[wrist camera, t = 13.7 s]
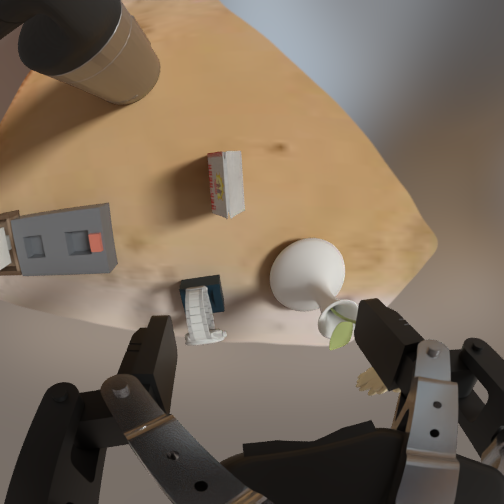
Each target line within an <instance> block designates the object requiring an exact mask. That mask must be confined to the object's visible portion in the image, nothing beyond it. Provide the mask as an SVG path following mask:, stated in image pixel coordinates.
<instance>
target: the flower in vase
mask: <svg viewBox="0 0 504 504" xmlns="http://www.w3.org/2000/svg"><path fill="white" fill-rule="evenodd" d="M344 278H345V265H344V260H343V257H342V255H341V253H340V252H339V250H338V249H337V248H336V247H335V246H334V245H333V244H331V243H330V242H328V241H326V240H323V239H319V238H306V239H302V240H298V241H296V242H294V243H292V244H290V245H289V246H287V247H286V248H285V249H284V250H283V251H282V252H281V253H280V254H279V255H278V256H277V258H276V259H275V261H274V263H273V265H272V268H271V272H270V286H271V290H272V292H273V294H274V296H275V298H276V299H277V300H278V301H279V302H280V303H281V304H283V305H284V306H286V307H288V308H290V309H292V310H296V311H312V310H316V309H319V308H320V311H321V315H320V317H319V321H318V329H319V331H320V333H321V334H322V335H323V336H324V337H326V338H329V339H330V345H329V348H330V350H334V349H337V348H340V347H342V346H345V345H346V344H347V343H348V342H349V341H350V339H351V335H352V331H353V330H354V329H355V323H356V318H357V312H358V305H357V304H356V303H355V302H353V301H351V300H339V299H337V298H336V297H335V296H336V295H337V294H338V292H339V291H340V289H341V287H342V285H343V282H344ZM358 378H359V379H358V380H357V383H358V384H357V385H356V387H360V389H359V391H364V390H368V389H370V391H369V392H368V395H369V396H372V395H375V394H376V393H377V394H383V393H384V392H386V391H387V390H388V389H387V388H386V386H385V385H384V383H383V382H382V380H381V379H380V377H379V376H378V374H377V373H376V371H375V370H374V368H373V367H371V368H369V369H368V370H367V371H366V372H364V373H362V374H360V375H359V376H358ZM393 391H394V392H400V391H401V390H400V388H398V389H395V390H393Z"/></svg>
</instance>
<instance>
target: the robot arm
mask: <svg viewBox="0 0 504 504" xmlns="http://www.w3.org/2000/svg"><path fill="white" fill-rule="evenodd" d="M23 23H24V24H23ZM21 24H23V26H22V29H21V32H20V35H19V41H18V52H19V56H20V59H21V61H22V62H23V63H24V65H26V66H27V67H28V68H30V69H31V70H33V71H36V72H39V73H41V74H44V75H46V76H49V77H51V78H54V79H57V80H59V81H62V82H64V83H67V84H69V85H72V86H74V87H76V88H79V89H81V90H83V91H86V92H88V93H90V94H93V95H95V96H97V97H99V98H102V99H104V100H106V101H108V102H111V103H113V104H118V105H125V104H130V103H134V102H136V101H138V100H140V99H141V98H143V97H144V96H146V95H147V94H148V93H149V92H150V91H151V90H152V88H153V87H154V85H155V84H156V82H157V80H158V77H159V73H160V63H159V59H158V57H157V55H156V54H155V52H154V50H153V49H152V47H151V43H150V41H149V40H148V38H147V37H146V35H145V33H144V32H143V30H142V29H141V27H140V25H139V24H138V22H137V21H136V19H135V18H134V16H132V15H130V13H129V12H128V11H127V9H126V8H125V6H124V5H123V3H122V2H121V0H0V40H1V39H2V38H3V37H4V36H6V35H7V34H9V33H10V32H11V31H13V30H14V29H16V28H17V27H19V26H20V25H21ZM354 337H355V341H356V343H357V345H358V346H359V348H360V349H361V351H362V352H363V353H364V355H365V356H366V358H367V359H368V361H369V362H370V364H371V365H372V367H373V368H374V370H375V371H376V373H377V374H378V376H379V377H380V379H381V380H382V382H383V383H384V385H385V386H386V388H387V389H388V391H391V390H395V389H398V388H400V390H401V391H400V394H399V397H398V401H397V405H396V410H395V414H394V418H393V422H392V426H391V429H388V428H375V426H374V424H373V422H372V421H371V420H370V421H367V422H363V423H360V424H356V425H352V426H348V427H344V428H341V429H340V430H338V431H335V432H333V433H331V434H329V435H327V436H325V437H322V438H320V439H318V440H315V441H310V442H307V441H306V442H305V441H304V442H303V441H280V440H275V441H267V442H258V443H247V444H243V453H240V454H237V455H234V456H232V457H229V458H228V459H225V460H223V461H221V462H220V463H219V462H218V461H217V460H216V459H215V458H214V457H213V456H212V455H211V454H210V453H209V452H208V451H207V450H205V448H203V447H202V446H201V445H200V444H199V442H197V441H196V439H195V438H193V436H192V435H191V434H190V433H189V432H188V431H187V430H186V429H185V428H184V427H183V426H182V425H181V424H180V423H179V422H178V420H177V419H176V418H175V417H174V416H173V415H171V414H169V413H170V406H171V398H172V391H173V384H174V378H175V371H176V365H177V346H176V341H175V336H174V331H173V325H172V320H171V317H170V315H165V316H152V317H151V319H150V322H149V324H148V327H147V328H140V329H139V330H138V331H136V332H135V333H134V334H133V336H132V338H131V340H130V343H129V345H128V348H127V352H126V353H125V355H124V358H123V360H122V363H121V366H120V368H119V371H118V373H117V375H114V376H112V377H110V378H108V379H107V380H106V381H105V382H104V383H103V384H102V386H101V389H100V390H96V391H90V392H84V393H79V391H78V389H77V388H76V386H75V385H73V384H71V383H66V382H62V383H57V384H55V385H53V386H51V387H50V388H49V389H48V390H47V391H46V393H45V394H44V396H43V399H42V401H41V403H40V405H39V407H38V410H37V412H36V414H35V416H34V419H33V421H32V424H31V426H30V428H29V431H28V433H27V436H26V438H25V441H24V443H23V446H22V449H21V451H20V454H19V457H18V460H17V463H16V465H15V469H14V471H13V475H12V478H11V481H10V484H9V488H8V492H7V495H6V499H5V503H4V504H98V501H99V493H100V487H101V480H102V473H103V467H104V461H105V455H106V450H107V447H113V446H119V445H126V444H129V445H130V447H131V449H132V450H133V451H134V453H135V455H136V456H137V457H138V459H139V460H140V462H141V463H142V465H143V466H144V467H145V469H146V470H147V472H148V473H149V474H150V476H151V477H152V478H153V479H154V481H155V482H156V483H157V485H158V486H159V487H160V489H161V490H162V491H163V492H164V494H165V495H166V496H167V497H168V499H169V500H170V501H171V502H172V503H173V504H504V360H503V359H502V358H501V357H500V356H499V355H498V354H497V353H496V352H495V351H494V350H493V349H492V348H491V347H490V346H489V345H488V344H487V343H486V342H484V341H483V340H481V339H478V338H468V339H466V340H465V341H464V344H463V346H462V349H459V350H449V349H448V348H447V346H446V345H445V344H443V343H442V342H439V341H437V340H431V339H428V340H424V339H423V338H422V336H420V334H418V332H416V331H415V329H414V328H413V327H412V326H411V325H409V324H408V322H406V320H404V319H403V317H402V316H400V315H399V314H398V313H397V312H396V311H394V310H392V309H390V308H388V307H386V306H385V305H384V304H383V303H382V302H381V301H380V300H379V299H377V298H374V299H367V300H361V301H360V303H359V306H358V312H357V318H356V323H355V329H354ZM477 380H479V381H480V382H481V383H482V385H483V386H484V387H485V388H486V390H487V391H488V394H489V398H488V401H487V403H486V405H485V404H484V403H483V402H482V400H481V399H480V398H479V397H478V395H477V394H476V393H475V392H474V390H473V387H474V385H475V384H476V382H477ZM458 423H459V424H460V426H461V428H462V429H463V431H464V432H465V434H466V435H467V437H468V438H469V440H470V441H471V443H472V445H473V446H474V448H475V449H476V451H477V452H478V454H479V456H480V458H481V463H480V462H478V461H475V460H471V459H469V458H466V457H463V456H461V455H458V454H456V449H457V434H458Z"/></svg>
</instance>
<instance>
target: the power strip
mask: <svg viewBox="0 0 504 504" xmlns="http://www.w3.org/2000/svg"><path fill="white" fill-rule="evenodd" d="M11 226H12V232H13V237H14V242H15V247H16V251H17V256H18V260H19V264H20V268H21V272H22V275H23V276H40V275H70V274H96V273H110V272H111V271H112V270H113V269H114V268H115V266H116V265H117V264H118V262H117V257H116V251H115V245H114V238H113V231H112V224H111V216H110V208H109V203H104V204H96V205H88V206H80V207H73V208H66V209H59V210H53V211H46V212H40V213H34V214H28V215H23V216H20V217H18V218H15V219H13V220H11Z"/></svg>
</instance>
